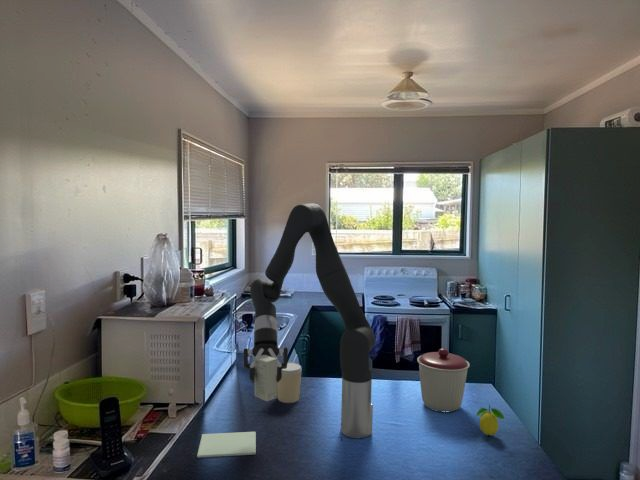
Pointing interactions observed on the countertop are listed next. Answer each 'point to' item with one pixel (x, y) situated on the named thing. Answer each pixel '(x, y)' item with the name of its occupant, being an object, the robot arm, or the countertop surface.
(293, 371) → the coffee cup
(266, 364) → the skincare box
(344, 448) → the countertop surface
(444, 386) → the canister
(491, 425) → the lemon
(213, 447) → the mat
